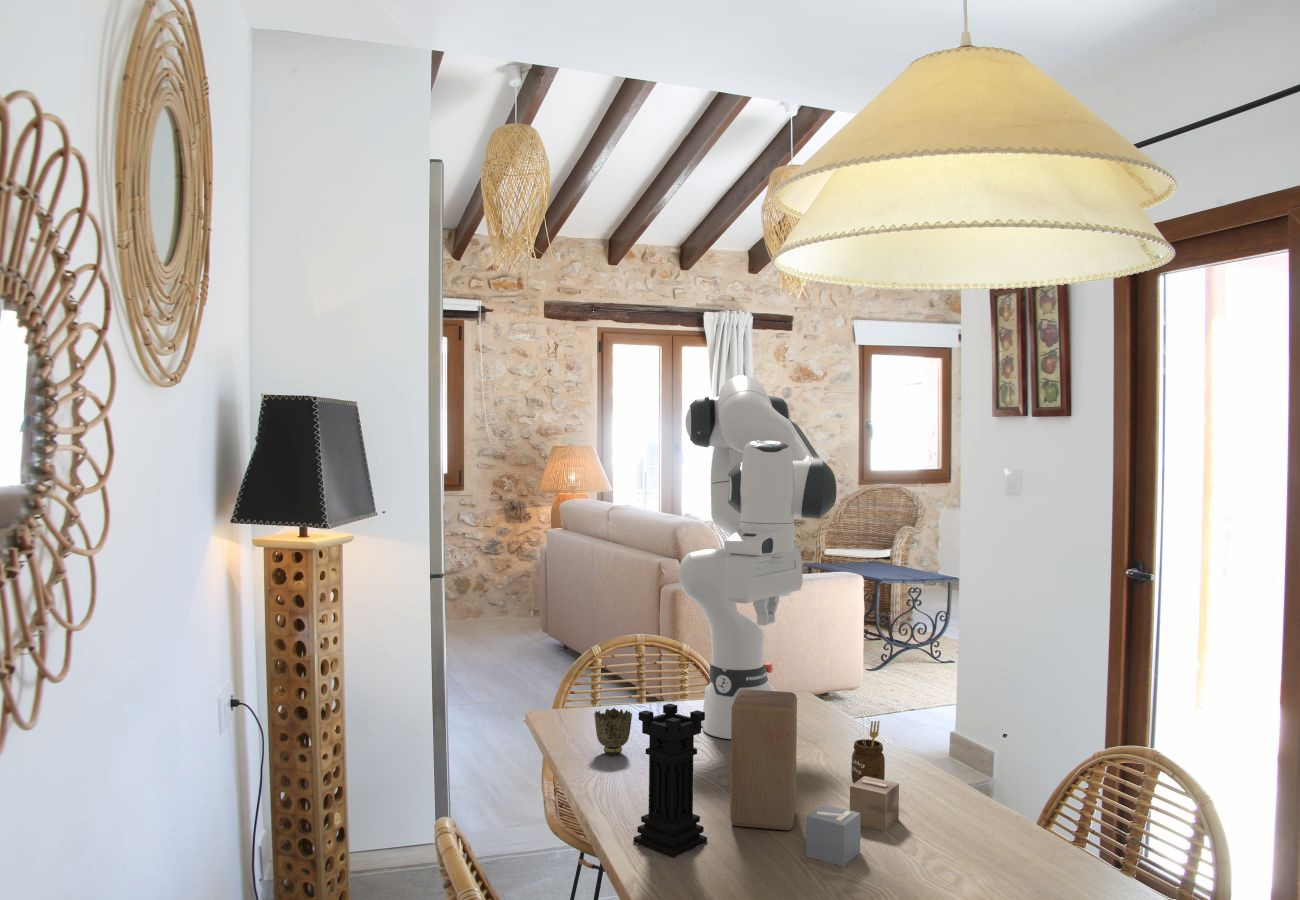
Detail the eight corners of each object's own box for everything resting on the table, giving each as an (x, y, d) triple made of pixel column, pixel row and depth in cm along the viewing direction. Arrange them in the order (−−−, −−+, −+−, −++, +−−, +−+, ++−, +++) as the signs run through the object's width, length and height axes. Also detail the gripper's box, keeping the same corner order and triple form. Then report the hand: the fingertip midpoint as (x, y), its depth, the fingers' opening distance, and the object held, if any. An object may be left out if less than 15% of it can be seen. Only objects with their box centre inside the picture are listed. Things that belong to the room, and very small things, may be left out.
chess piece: (633, 842, 149) (635, 712, 149) (668, 827, 155) (669, 702, 155) (672, 858, 143) (674, 722, 143) (707, 842, 149) (708, 712, 149)
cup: (619, 745, 197) (619, 706, 197) (638, 755, 191) (639, 714, 191) (587, 751, 193) (587, 711, 193) (606, 761, 187) (606, 720, 186)
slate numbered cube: (823, 843, 150) (823, 802, 150) (860, 852, 146) (860, 811, 146) (806, 856, 145) (806, 814, 145) (843, 866, 141) (844, 823, 141)
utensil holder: (876, 775, 181) (877, 710, 181) (890, 787, 174) (891, 720, 174) (846, 776, 180) (847, 711, 180) (859, 788, 173) (859, 721, 173)
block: (792, 833, 153) (794, 706, 153) (729, 827, 155) (730, 702, 155) (796, 810, 163) (797, 691, 163) (736, 805, 165) (737, 687, 165)
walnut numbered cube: (864, 811, 163) (864, 774, 163) (898, 819, 159) (899, 781, 159) (849, 822, 158) (850, 784, 158) (884, 831, 154) (885, 792, 154)
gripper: (779, 534, 169) (778, 613, 169) (718, 542, 152) (717, 630, 152) (812, 536, 165) (811, 617, 165) (753, 545, 149) (752, 635, 149)
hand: (765, 624), depth 159 cm, fingers closed
